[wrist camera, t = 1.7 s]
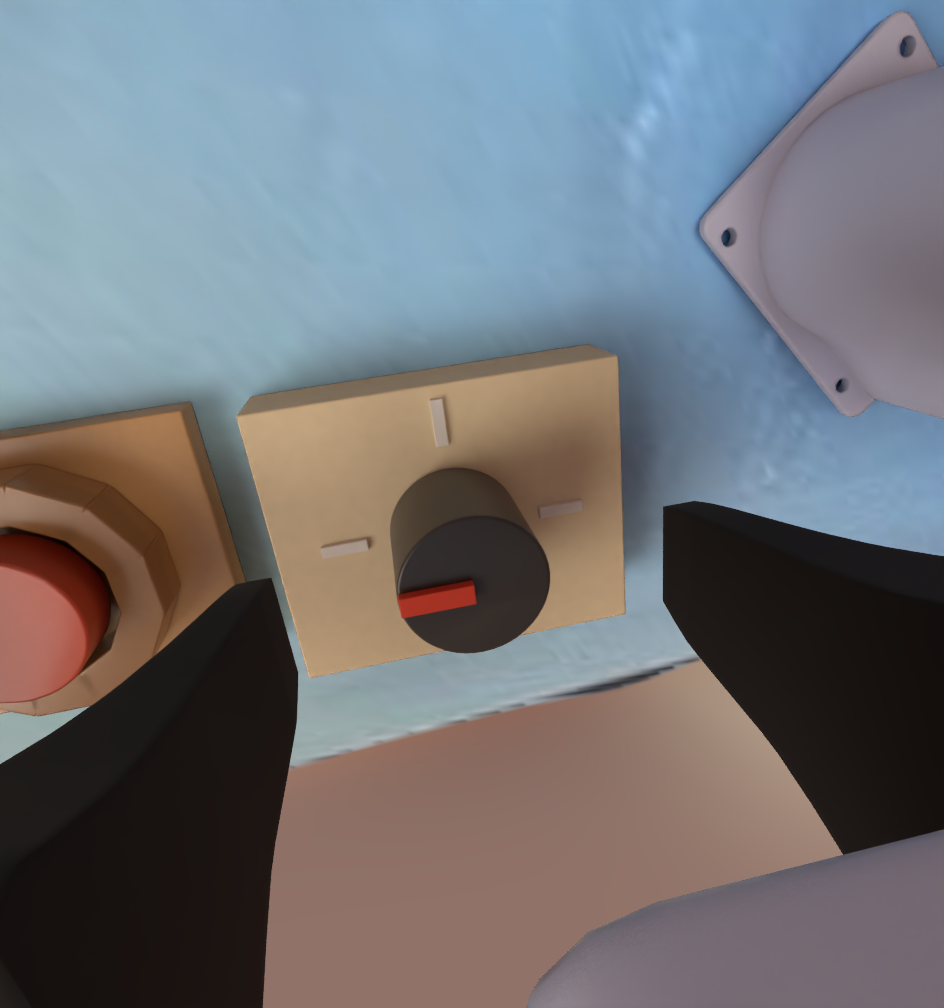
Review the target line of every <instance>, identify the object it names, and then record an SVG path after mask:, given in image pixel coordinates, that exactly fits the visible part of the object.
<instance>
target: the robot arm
mask: <svg viewBox="0 0 944 1008" xmlns="http://www.w3.org/2000/svg"><path fill="white" fill-rule="evenodd" d="M902 41H903V42H904V43H905V47H906V48H905V53H904V55H903V56H902V55H901V53H900V44H901V42H902ZM699 230H700V235H701V237H702V239H703V240H704V241H705V242H706V244H707V245H708V246H709V248H710V249H711V250H712V251H713V253H714V254H715V255H716V256H717V258H718V259H719V260H720V261H721V263H722V264H723V265H724V266H725V268H726V269H727V270H728V272H729V273H730V274H731V275H732V277H733V278H734V279H735V280H736V282H737V283H738V284H739V285H740V287H741V288H742V289H743V291H744V292H745V293H746V294H747V296H748V297H749V298H750V299H751V301H752V302H753V303H754V304H755V306H756V307H757V308H758V310H759V311H760V312H761V313H762V315H763V316H764V317H765V318H766V320H767V321H768V322H769V323H770V325H771V326H772V327H773V328H774V330H775V331H776V332H777V334H778V335H779V336H780V337H781V339H782V340H783V341H784V342H785V344H786V345H787V346H788V347H789V349H790V350H791V351H792V353H793V354H794V355H795V356H796V358H797V359H798V360H799V361H800V363H801V364H802V365H803V366H804V368H805V369H806V370H807V372H808V373H809V374H810V375H811V377H812V378H813V379H814V380H815V382H816V383H817V384H818V385H819V387H820V388H821V389H822V391H823V392H824V393H825V394H826V396H827V397H828V398H829V399H830V401H831V402H832V403H833V404H834V406H835V407H836V408H837V409H838V411H839V412H840V413H842V414H843V415H846V416H850V417H855V416H858V415H860V414H861V413H862V412H864V411H865V410H866V409H867V408H868V407H869V406H870V405H871V404H872V403H873V402H874V401H875V400H879V401H883V402H886V403H890V404H893V405H896V406H900V407H903V408H907V409H910V410H914V411H917V412H920V413H924V414H927V415H931V416H934V417H938V418H941V419H944V66H941V67H938V65H937V63H936V61H935V59H934V57H933V55H932V53H931V51H930V50H929V48H928V46H927V44H926V42H925V40H924V38H923V36H922V34H921V33H920V31H919V29H918V27H917V25H916V23H915V21H914V19H913V17H912V16H911V15H910V14H909V13H908V12H905V11H900V12H896V13H894V14H892V15H889V16H888V17H886V18H885V19H884V20H882V21H881V23H880V24H879V25H878V26H877V27H876V28H875V29H874V30H873V31H872V32H871V33H870V35H869V36H868V37H867V38H866V39H865V40H864V41H863V42H862V43H861V44H860V45H859V46H858V48H857V49H856V50H855V51H854V52H853V53H852V54H851V55H850V56H849V57H848V58H847V60H846V61H845V62H844V63H843V64H842V65H841V66H840V67H839V68H838V69H837V70H836V72H835V73H834V74H833V75H832V76H831V77H830V78H829V79H828V80H827V81H826V82H825V83H824V85H823V86H822V87H821V88H820V89H819V90H818V91H817V92H816V93H815V94H814V95H813V97H812V98H811V99H810V100H809V101H808V102H807V103H806V104H805V105H804V106H803V107H802V108H801V110H800V111H799V112H798V113H797V114H796V115H795V116H794V117H793V118H792V119H791V120H790V122H789V123H788V124H787V125H786V126H785V127H784V128H783V129H782V130H781V131H780V132H779V134H778V135H777V136H776V137H775V138H774V139H773V140H772V141H771V142H770V143H769V144H768V145H767V147H766V148H765V149H764V150H763V151H762V152H761V153H760V154H759V155H758V156H757V157H756V159H755V160H754V161H753V162H752V163H751V164H750V165H749V166H748V167H747V168H746V169H745V171H744V172H743V173H742V174H741V175H740V176H739V177H738V178H737V179H736V180H735V181H734V182H733V184H732V185H731V186H730V187H729V188H728V189H727V190H726V191H725V192H724V193H723V194H722V196H721V197H720V198H719V199H718V200H717V201H716V202H715V203H714V204H713V205H712V206H711V207H710V209H709V210H708V211H707V212H706V213H705V214H704V216H703V217H702V219H701V221H700V225H699ZM725 230H728V231H729V233H730V240H729V242H728V244H727V245H723V243H722V241H721V238H722V234H723V232H724V231H725ZM840 379H842V383H841V386H840V387H839V388H838V389H836V384H837V382H838V381H839V380H840ZM663 602H664V603H665V605H666V607H667V609H668V610H669V612H670V614H671V616H672V617H673V619H674V621H675V623H676V624H677V626H678V628H679V629H680V631H681V632H682V634H683V636H684V637H685V639H686V640H687V642H688V643H689V644H690V646H691V647H692V648H693V650H694V651H695V652H696V653H697V655H698V656H699V657H700V658H701V659H702V661H703V662H704V663H705V664H706V666H707V667H708V668H709V669H710V670H711V672H712V673H713V674H714V675H715V677H716V678H717V679H718V680H719V681H720V683H721V684H722V685H723V686H724V687H725V689H726V690H727V691H728V692H729V693H730V695H731V696H732V697H733V698H734V699H735V701H736V702H737V703H738V704H739V705H740V707H741V708H742V709H743V710H744V712H745V713H746V714H747V715H748V716H749V718H750V719H751V720H752V721H753V722H754V724H755V725H756V726H757V727H758V728H759V730H760V731H761V732H762V733H763V735H764V736H765V737H766V738H767V740H768V741H769V742H770V744H771V745H772V746H773V748H774V749H775V750H776V752H777V753H778V754H779V756H780V757H781V759H782V760H783V762H784V763H785V765H786V766H787V768H788V769H789V771H790V772H791V774H792V775H793V777H794V778H795V780H796V781H797V783H798V784H799V786H800V787H801V788H802V790H803V791H804V793H805V795H806V796H807V798H808V799H809V801H810V802H811V804H812V805H813V807H814V808H815V810H816V812H817V813H818V815H819V817H820V818H821V820H822V821H823V823H824V825H825V826H826V827H827V829H828V831H829V832H830V834H831V836H832V837H833V839H834V841H835V842H836V844H837V845H838V847H839V849H840V850H841V852H842V853H843V855H841V856H837V857H833V858H829V859H825V860H821V861H817V862H814V863H809V864H805V865H802V866H798V867H794V868H789V869H785V870H781V871H777V872H774V873H770V874H766V875H762V876H758V877H754V878H750V879H746V880H742V881H738V882H734V883H730V884H726V885H722V886H718V887H714V888H710V889H706V890H702V891H698V892H695V893H691V894H687V895H683V896H679V897H675V898H671V899H667V900H663V901H659V902H656V903H654V904H651V905H649V906H647V907H645V908H642V909H640V910H638V911H635V912H633V913H631V914H629V915H626V916H624V917H622V918H620V919H617V920H615V921H613V922H611V923H608V924H606V925H604V926H601V927H599V928H597V929H595V930H592V931H590V932H588V933H587V934H586V935H585V936H584V937H583V938H582V939H580V940H579V941H578V942H577V943H576V944H575V945H574V946H573V947H572V948H571V949H570V950H569V951H568V952H567V953H566V954H565V955H564V956H563V957H562V958H561V959H560V960H559V961H558V962H557V963H556V964H555V965H554V966H553V967H552V968H551V969H549V970H548V971H547V972H546V973H545V974H544V975H543V976H542V977H541V978H540V979H539V981H538V983H537V984H536V986H535V987H534V989H533V991H532V992H531V994H530V996H529V999H528V1003H527V1007H526V1008H944V556H938V555H932V554H926V553H919V552H913V551H907V550H901V549H895V548H889V547H884V546H879V545H874V544H869V543H864V542H860V541H856V540H851V539H847V538H842V537H838V536H834V535H829V534H825V533H821V532H817V531H813V530H810V529H806V528H802V527H798V526H794V525H791V524H787V523H783V522H780V521H776V520H772V519H769V518H765V517H762V516H758V515H754V514H751V513H747V512H743V511H740V510H736V509H732V508H728V507H724V506H720V505H716V504H711V503H705V502H698V501H692V502H686V503H681V504H675V505H670V506H664V507H663ZM297 701H298V671H297V667H296V663H295V660H294V656H293V653H292V649H291V646H290V642H289V638H288V635H287V631H286V628H285V624H284V621H283V617H282V613H281V610H280V606H279V603H278V599H277V596H276V592H275V588H274V585H273V581H272V578H267V579H261V580H256V581H250V582H245V583H239V584H235V585H234V586H233V587H231V588H230V589H229V590H227V591H226V592H225V593H224V594H223V595H221V596H220V597H219V598H218V599H217V600H216V601H215V602H214V603H213V604H211V605H210V606H209V607H208V608H207V609H206V610H205V611H204V612H203V613H202V614H201V615H199V616H198V617H197V618H196V619H195V620H194V621H193V622H192V623H191V624H190V625H189V626H187V627H186V628H185V629H184V630H183V631H182V632H181V633H180V634H179V635H178V636H176V637H175V638H174V639H173V640H172V641H171V642H170V643H169V644H168V645H166V646H165V647H164V648H163V649H162V650H161V651H159V652H158V653H157V654H156V655H155V656H153V657H152V658H151V659H150V660H149V661H147V662H146V663H145V664H144V665H143V666H141V667H140V668H139V669H138V670H137V671H135V672H134V673H133V674H132V675H131V676H129V677H128V678H127V679H126V680H125V681H123V682H122V683H121V684H120V685H118V686H117V687H116V688H114V689H113V690H112V691H111V692H109V693H108V694H107V695H105V696H104V697H103V698H101V699H100V700H98V701H97V702H96V703H94V704H93V705H92V706H90V707H89V708H87V709H86V710H84V711H83V712H82V713H80V714H79V715H77V716H76V717H74V718H73V719H72V720H70V721H69V722H67V723H66V724H64V725H63V726H61V727H60V728H58V729H57V730H55V731H54V732H52V733H51V734H49V735H48V736H46V737H44V738H43V739H41V740H39V741H38V742H36V743H34V744H33V745H31V746H30V747H28V748H26V749H25V750H23V751H21V752H20V753H18V754H16V755H15V756H13V757H11V758H10V759H8V760H6V761H5V762H3V763H2V764H0V1008H263V991H264V974H265V955H266V938H267V924H268V910H269V897H270V882H271V870H272V863H273V856H274V848H275V841H276V835H277V830H278V824H279V819H280V814H281V808H282V802H283V797H284V791H285V786H286V781H287V775H288V770H289V764H290V758H291V753H292V747H293V741H294V735H295V729H296V723H297Z"/></svg>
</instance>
